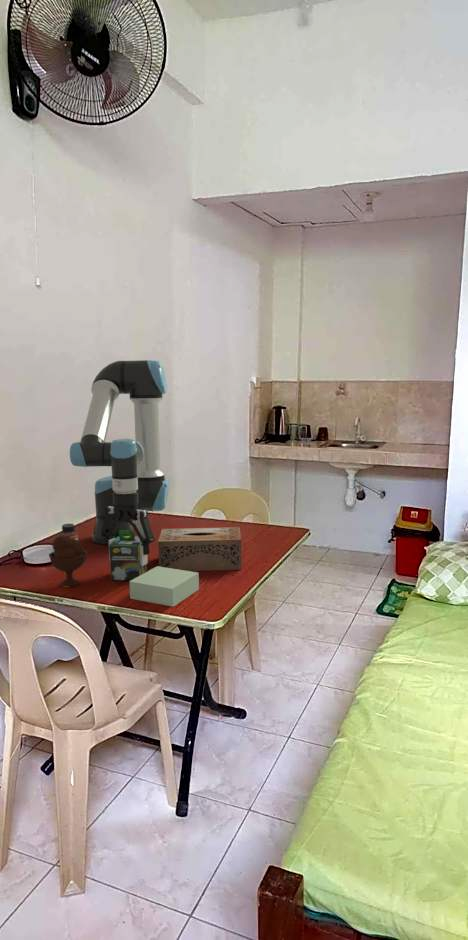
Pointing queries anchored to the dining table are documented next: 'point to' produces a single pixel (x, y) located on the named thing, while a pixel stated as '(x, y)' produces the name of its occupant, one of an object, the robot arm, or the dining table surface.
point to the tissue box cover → (200, 549)
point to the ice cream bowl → (67, 557)
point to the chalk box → (126, 557)
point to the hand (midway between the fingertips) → (128, 562)
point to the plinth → (164, 586)
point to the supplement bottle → (69, 531)
